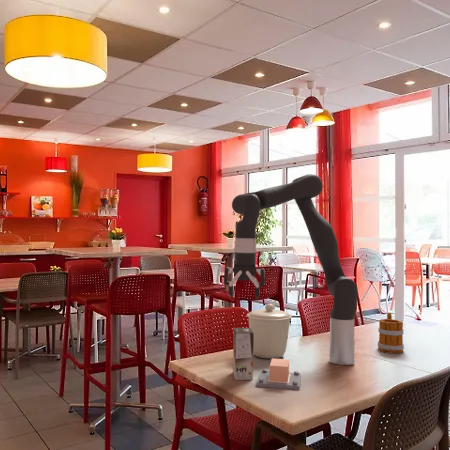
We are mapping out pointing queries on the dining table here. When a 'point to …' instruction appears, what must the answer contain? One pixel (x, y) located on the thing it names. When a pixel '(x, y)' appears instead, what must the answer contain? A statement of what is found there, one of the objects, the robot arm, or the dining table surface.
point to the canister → (269, 331)
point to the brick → (279, 370)
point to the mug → (390, 335)
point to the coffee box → (243, 353)
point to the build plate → (291, 384)
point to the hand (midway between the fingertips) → (244, 297)
